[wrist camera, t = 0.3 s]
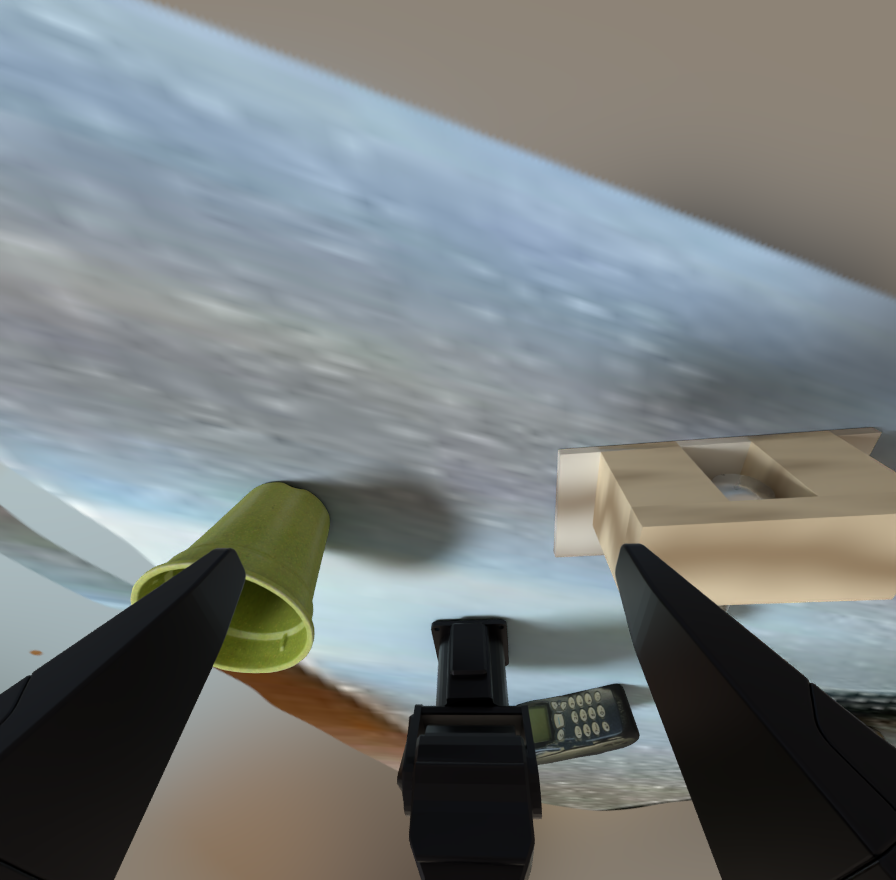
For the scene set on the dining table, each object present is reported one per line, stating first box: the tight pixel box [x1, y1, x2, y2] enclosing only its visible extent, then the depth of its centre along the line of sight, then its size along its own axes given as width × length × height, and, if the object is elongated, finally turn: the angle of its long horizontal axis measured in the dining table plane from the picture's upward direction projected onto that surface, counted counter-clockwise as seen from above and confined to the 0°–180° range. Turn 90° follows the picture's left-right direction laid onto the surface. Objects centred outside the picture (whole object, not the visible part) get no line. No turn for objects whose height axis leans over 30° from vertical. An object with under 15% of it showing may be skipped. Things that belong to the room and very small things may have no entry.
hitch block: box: [554, 427, 896, 605], centre depth 23 cm, size 9×18×7 cm, turn 96°
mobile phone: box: [517, 684, 640, 765], centre depth 38 cm, size 5×3×15 cm
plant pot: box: [131, 482, 330, 673], centre depth 24 cm, size 9×9×9 cm
